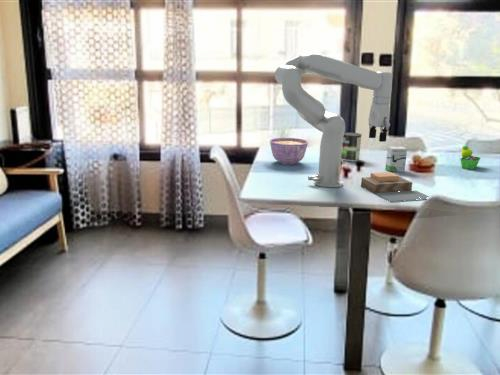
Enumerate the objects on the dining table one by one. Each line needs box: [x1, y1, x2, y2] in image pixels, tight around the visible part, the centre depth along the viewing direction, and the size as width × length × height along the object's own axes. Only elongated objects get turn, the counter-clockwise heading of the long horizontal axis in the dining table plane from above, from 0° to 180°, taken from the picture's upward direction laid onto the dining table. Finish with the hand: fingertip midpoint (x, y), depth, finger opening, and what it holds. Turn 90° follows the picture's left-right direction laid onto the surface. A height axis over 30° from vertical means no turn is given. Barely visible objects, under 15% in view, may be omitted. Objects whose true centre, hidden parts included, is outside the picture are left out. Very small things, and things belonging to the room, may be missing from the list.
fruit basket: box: [460, 145, 481, 170], centre depth 272 cm, size 11×9×11 cm
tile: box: [369, 171, 400, 181], centre depth 229 cm, size 10×7×2 cm
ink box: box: [384, 146, 408, 172], centre depth 261 cm, size 9×5×12 cm, turn 101°
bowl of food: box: [269, 137, 309, 165], centre depth 272 cm, size 20×20×12 cm
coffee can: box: [341, 131, 362, 162], centre depth 283 cm, size 10×10×14 cm
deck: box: [360, 176, 413, 195], centre depth 228 cm, size 18×12×4 cm, turn 106°
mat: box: [375, 190, 430, 203], centre depth 217 cm, size 20×12×1 cm, turn 106°
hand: (377, 139), depth 233 cm, fingers open, 8 cm apart
